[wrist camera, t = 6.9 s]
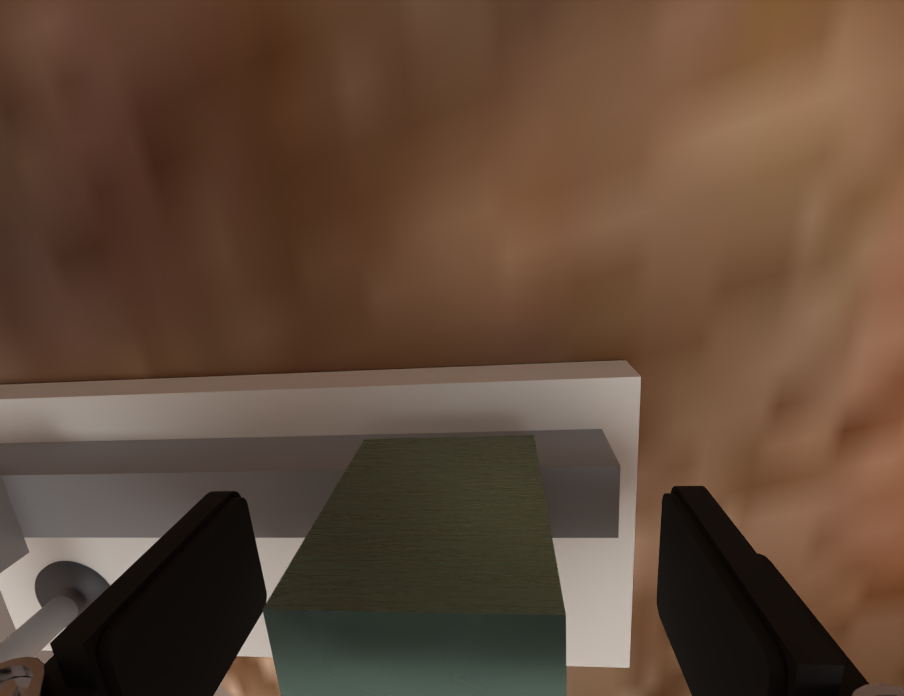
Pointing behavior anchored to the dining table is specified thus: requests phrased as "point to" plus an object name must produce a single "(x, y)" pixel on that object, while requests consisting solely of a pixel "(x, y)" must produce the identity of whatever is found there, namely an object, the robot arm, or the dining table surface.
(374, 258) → the dining table surface
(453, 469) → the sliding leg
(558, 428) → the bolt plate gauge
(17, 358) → the dining table surface
